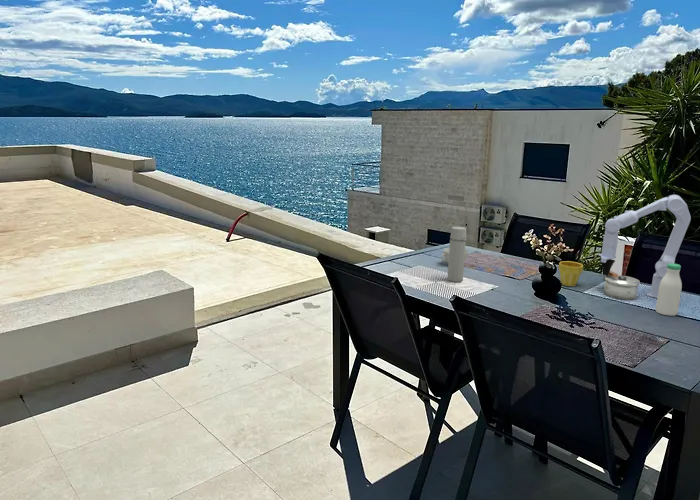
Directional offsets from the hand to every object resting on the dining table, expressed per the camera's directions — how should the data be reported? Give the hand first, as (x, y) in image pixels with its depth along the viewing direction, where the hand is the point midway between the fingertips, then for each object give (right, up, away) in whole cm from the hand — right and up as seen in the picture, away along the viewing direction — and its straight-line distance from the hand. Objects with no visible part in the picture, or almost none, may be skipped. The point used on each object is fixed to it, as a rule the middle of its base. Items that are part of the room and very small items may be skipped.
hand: (605, 275), depth 246 cm
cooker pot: (+3, -8, -5) cm, 10 cm away
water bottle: (-65, -3, +10) cm, 66 cm away
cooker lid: (+3, -2, -6) cm, 7 cm away
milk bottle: (+11, -14, -28) cm, 33 cm away
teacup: (-62, +3, +36) cm, 72 cm away
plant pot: (-14, -5, +7) cm, 16 cm away
